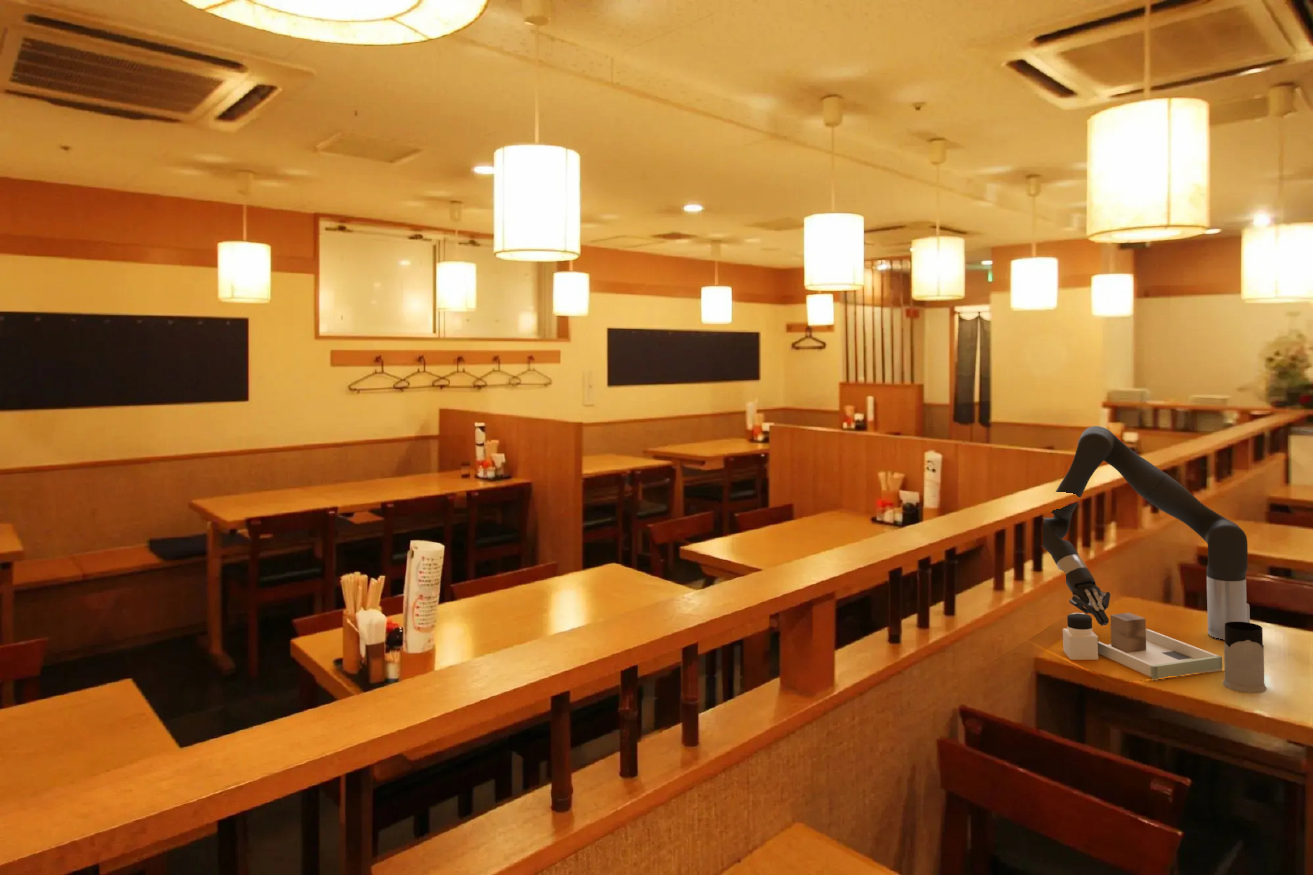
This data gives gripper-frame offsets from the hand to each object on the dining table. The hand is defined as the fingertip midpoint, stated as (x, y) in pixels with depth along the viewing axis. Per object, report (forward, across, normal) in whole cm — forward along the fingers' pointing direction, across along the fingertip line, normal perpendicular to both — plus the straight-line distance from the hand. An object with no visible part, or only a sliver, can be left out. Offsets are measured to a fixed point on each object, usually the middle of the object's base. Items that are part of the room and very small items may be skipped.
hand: (1105, 623), depth 236 cm
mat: (+16, +7, -9) cm, 20 cm away
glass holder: (+30, +8, -22) cm, 38 cm away
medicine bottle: (+10, -15, -3) cm, 18 cm away
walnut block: (+9, 0, -3) cm, 10 cm away
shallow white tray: (+15, 0, -8) cm, 18 cm away
